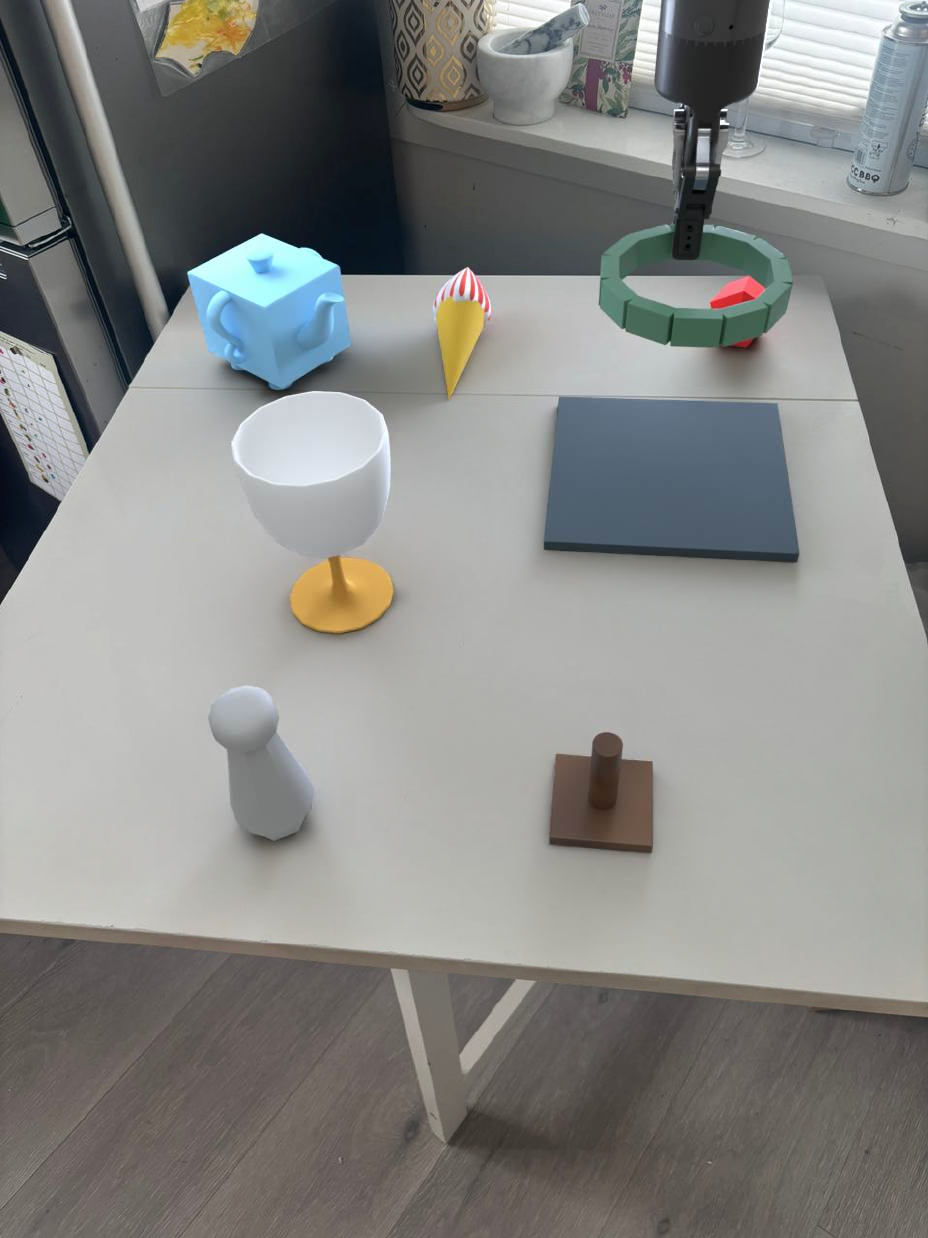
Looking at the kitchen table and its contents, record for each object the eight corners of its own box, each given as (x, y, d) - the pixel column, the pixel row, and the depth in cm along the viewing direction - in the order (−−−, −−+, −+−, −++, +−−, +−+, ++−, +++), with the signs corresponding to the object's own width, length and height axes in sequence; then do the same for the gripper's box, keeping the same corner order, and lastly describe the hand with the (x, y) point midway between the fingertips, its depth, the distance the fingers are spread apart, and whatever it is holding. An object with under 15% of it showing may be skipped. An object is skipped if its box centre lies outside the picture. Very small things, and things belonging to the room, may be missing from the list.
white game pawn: (246, 780, 74) (204, 669, 64) (323, 780, 73) (291, 668, 64) (231, 851, 70) (184, 743, 60) (312, 851, 69) (277, 743, 60)
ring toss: (651, 768, 73) (661, 705, 67) (651, 853, 68) (662, 793, 62) (555, 760, 73) (557, 698, 68) (549, 844, 69) (550, 785, 63)
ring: (776, 253, 82) (781, 225, 81) (793, 350, 73) (800, 321, 71) (601, 249, 84) (603, 222, 82) (596, 344, 74) (598, 315, 73)
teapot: (193, 373, 111) (162, 265, 101) (296, 313, 118) (275, 207, 109) (304, 433, 102) (280, 320, 93) (406, 364, 110) (395, 253, 100)
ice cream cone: (443, 427, 109) (462, 296, 118) (489, 407, 105) (505, 273, 114) (406, 394, 105) (429, 261, 114) (453, 372, 101) (472, 236, 110)
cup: (299, 665, 81) (256, 506, 68) (257, 575, 88) (211, 417, 76) (430, 615, 84) (412, 455, 71) (379, 533, 91) (354, 374, 79)
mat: (776, 411, 101) (777, 402, 100) (797, 562, 86) (799, 553, 85) (558, 404, 103) (558, 396, 103) (543, 549, 89) (543, 541, 88)
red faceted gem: (763, 319, 102) (780, 258, 105) (698, 318, 106) (716, 259, 108) (770, 361, 108) (786, 303, 111) (708, 359, 111) (725, 302, 114)
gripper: (777, 52, 65) (736, 295, 78) (760, -14, 74) (726, 213, 87) (660, 53, 66) (638, 293, 78) (658, -12, 75) (639, 213, 87)
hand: (684, 251), depth 82 cm, fingers closed on ring, 1 cm apart
